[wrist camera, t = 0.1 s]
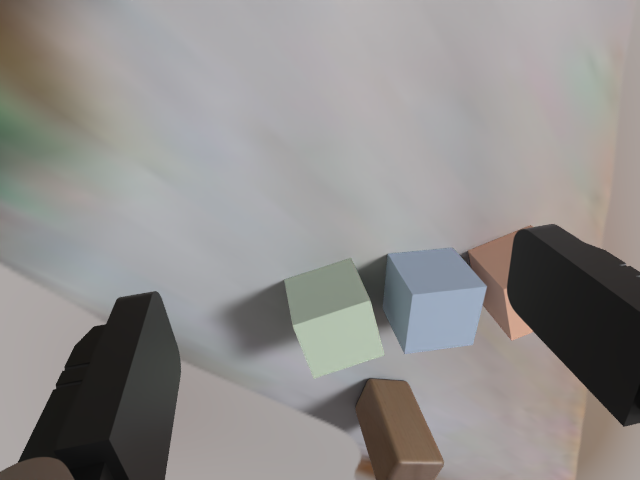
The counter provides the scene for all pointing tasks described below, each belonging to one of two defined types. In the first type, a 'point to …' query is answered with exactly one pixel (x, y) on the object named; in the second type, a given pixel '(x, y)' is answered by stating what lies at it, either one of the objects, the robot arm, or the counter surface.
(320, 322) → the sage cube
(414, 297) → the slate blue cube
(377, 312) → the counter surface
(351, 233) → the counter surface
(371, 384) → the wooden block
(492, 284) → the terracotta cube
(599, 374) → the robot arm
